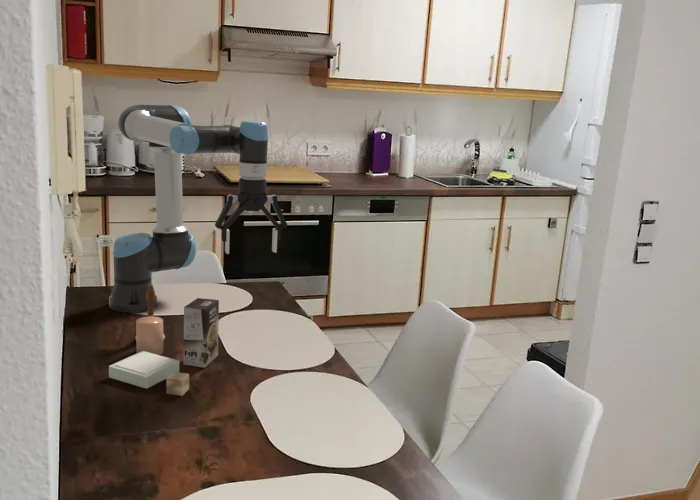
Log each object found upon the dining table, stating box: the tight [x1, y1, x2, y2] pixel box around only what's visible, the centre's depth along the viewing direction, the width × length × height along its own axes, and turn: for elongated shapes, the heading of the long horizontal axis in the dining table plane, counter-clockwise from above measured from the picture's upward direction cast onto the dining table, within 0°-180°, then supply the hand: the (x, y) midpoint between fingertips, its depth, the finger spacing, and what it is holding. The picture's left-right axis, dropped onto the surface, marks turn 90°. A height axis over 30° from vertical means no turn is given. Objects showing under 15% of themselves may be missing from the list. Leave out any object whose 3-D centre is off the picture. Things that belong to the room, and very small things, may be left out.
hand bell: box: [134, 284, 166, 341], centre depth 191 cm, size 8×8×16 cm
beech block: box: [165, 371, 190, 397], centre depth 160 cm, size 4×4×4 cm
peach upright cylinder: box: [135, 316, 164, 356], centre depth 182 cm, size 7×7×9 cm
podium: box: [108, 351, 180, 389], centre depth 168 cm, size 12×12×3 cm
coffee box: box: [182, 297, 220, 368], centre depth 177 cm, size 9×6×16 cm
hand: (250, 252), depth 190 cm, fingers open, 13 cm apart
